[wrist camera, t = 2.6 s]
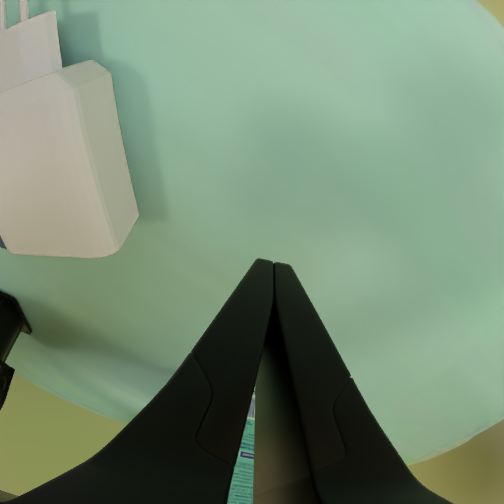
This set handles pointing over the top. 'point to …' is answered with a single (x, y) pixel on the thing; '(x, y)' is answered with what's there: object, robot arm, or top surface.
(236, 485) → the milk carton
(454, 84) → the top surface
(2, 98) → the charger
